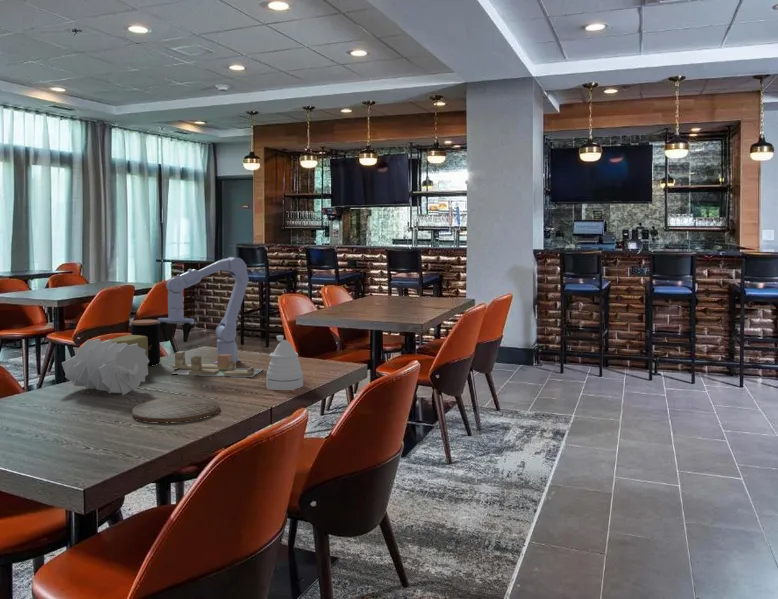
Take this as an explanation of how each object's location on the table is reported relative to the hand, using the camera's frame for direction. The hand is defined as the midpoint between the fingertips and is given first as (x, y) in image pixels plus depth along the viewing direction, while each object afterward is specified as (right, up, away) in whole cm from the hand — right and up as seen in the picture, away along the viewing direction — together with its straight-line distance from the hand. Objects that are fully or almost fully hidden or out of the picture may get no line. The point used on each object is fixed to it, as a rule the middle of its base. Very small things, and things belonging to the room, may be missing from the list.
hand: (176, 341), depth 262 cm
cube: (+21, -9, -5) cm, 23 cm away
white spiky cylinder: (-10, -15, -40) cm, 44 cm away
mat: (+19, -11, -8) cm, 24 cm away
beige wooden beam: (+12, -11, -4) cm, 17 cm away
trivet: (+21, -18, -65) cm, 70 cm away
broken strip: (+21, -12, -13) cm, 28 cm away
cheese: (-15, -13, -20) cm, 28 cm away
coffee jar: (-14, -10, +5) cm, 18 cm away
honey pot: (+48, -14, -31) cm, 59 cm away
